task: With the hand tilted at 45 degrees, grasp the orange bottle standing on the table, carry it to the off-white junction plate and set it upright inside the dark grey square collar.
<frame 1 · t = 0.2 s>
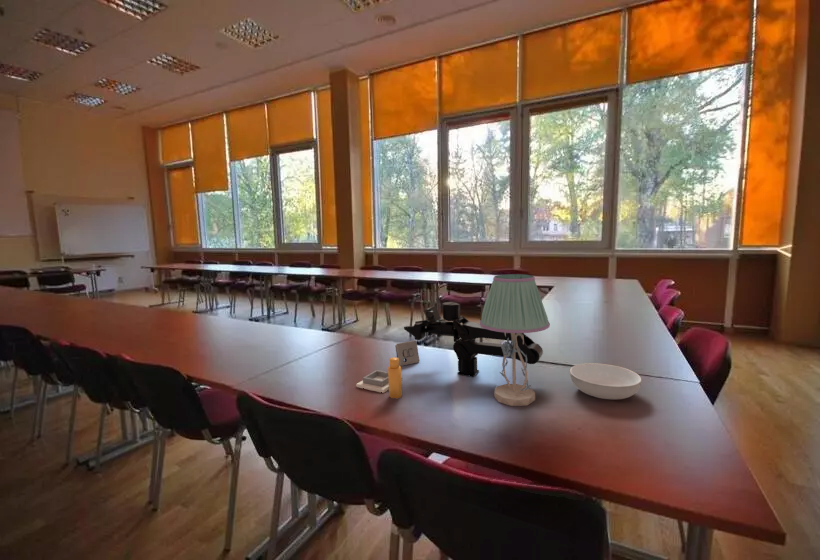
hand: (409, 325, 161), 17 cm above the table, tool horizontal, fingers open, 9 cm apart
serving bowl: (603, 394, 128), on the table
orange bottle: (395, 395, 132), on the table
electrical switch: (406, 363, 165), on the table
junction plate: (379, 383, 143), on the table
table lamp: (514, 398, 127), on the table
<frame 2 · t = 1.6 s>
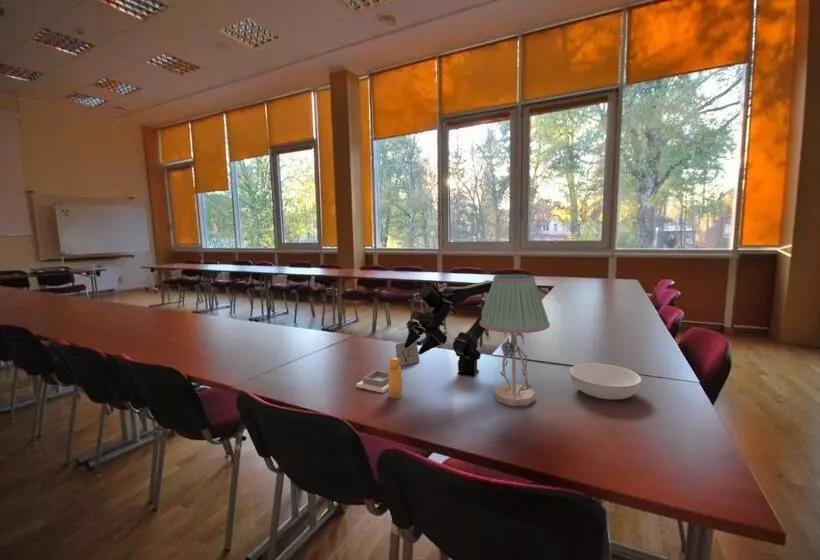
hand: (411, 350, 136), 14 cm above the table, tool tilted 45°, fingers open, 9 cm apart
nothing on the table moved.
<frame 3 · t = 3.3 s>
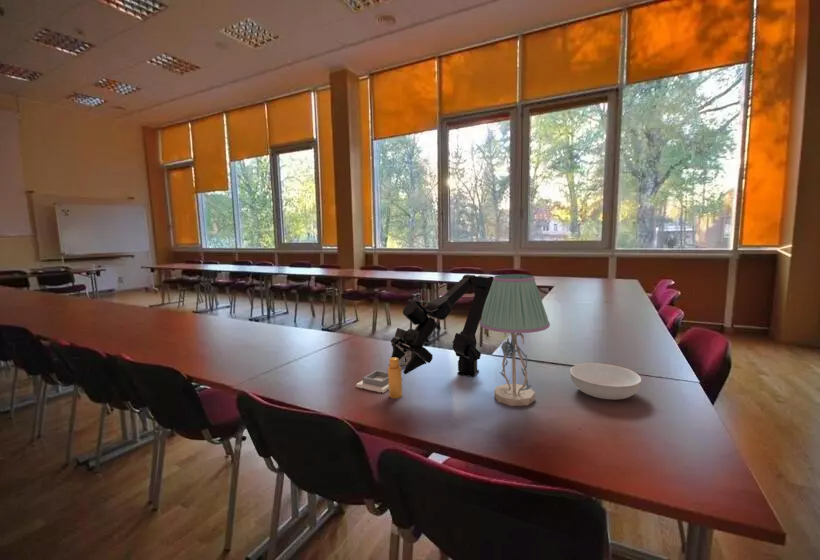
hand: (396, 369, 132), 9 cm above the table, tool tilted 45°, fingers open, 9 cm apart
nothing on the table moved.
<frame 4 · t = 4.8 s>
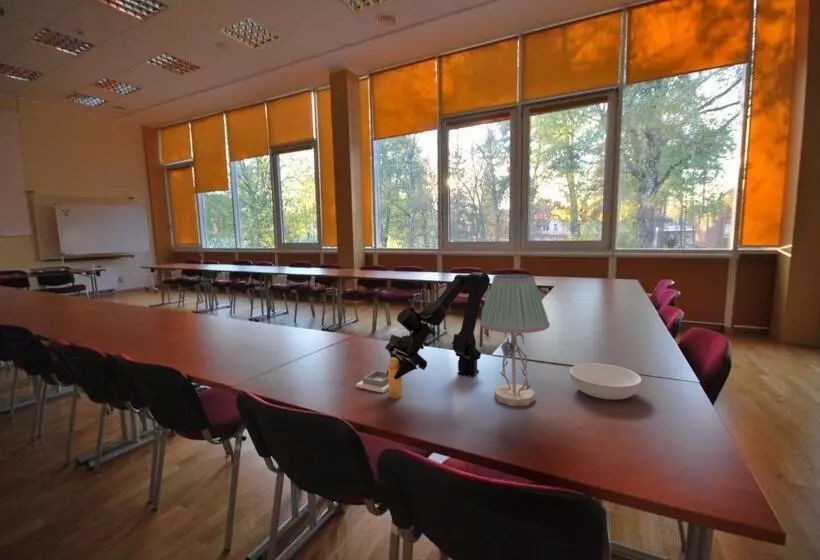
hand: (391, 376, 131), 7 cm above the table, tool tilted 45°, fingers closed on orange bottle, 4 cm apart
orange bottle: (395, 395, 132), on the table, touching gripper
everything else where it was.
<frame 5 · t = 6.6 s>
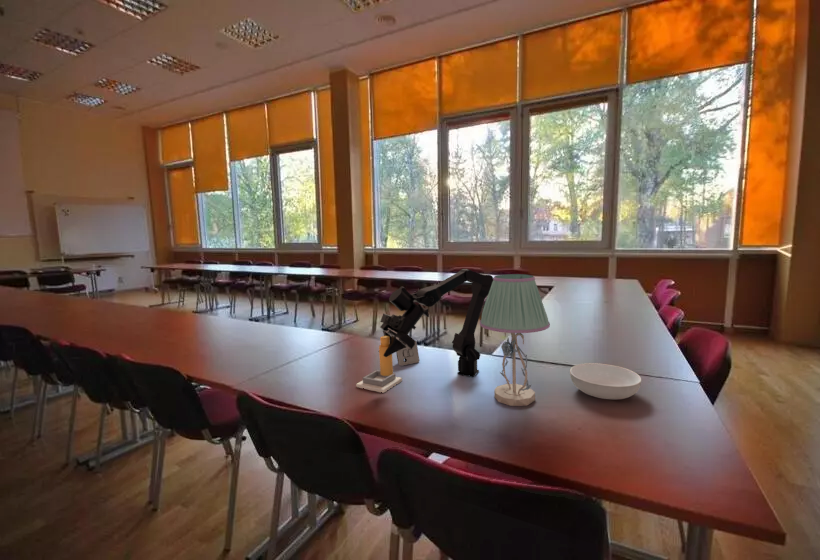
hand: (381, 354, 134), 14 cm above the table, tool tilted 45°, fingers closed on orange bottle, 4 cm apart
orange bottle: (386, 373, 136), point 6 cm above the table, touching gripper
everything else where it was.
when the fingers open (10 cm above the table, at t = 8.4 s): orange bottle drops 1 cm, resting on junction plate.
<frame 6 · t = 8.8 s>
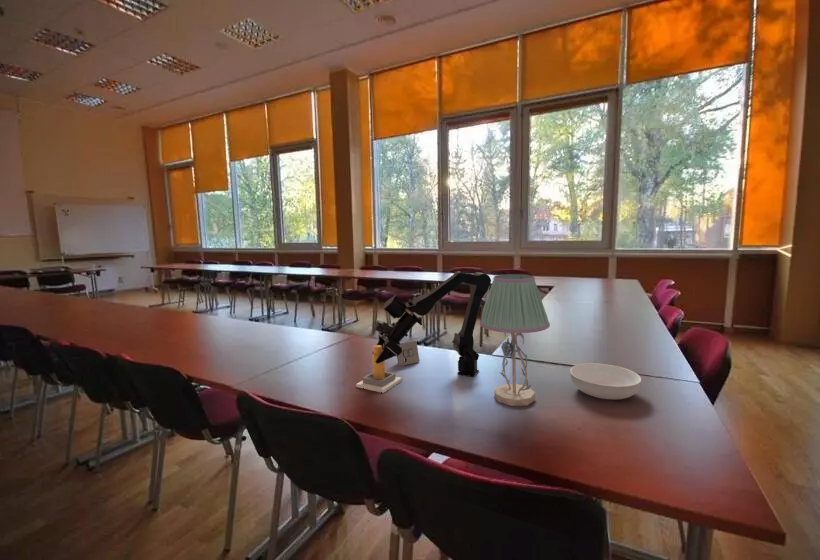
hand: (374, 358, 142), 10 cm above the table, tool tilted 45°, fingers open, 9 cm apart
orange bottle: (379, 380, 143), point 1 cm above the table, touching junction plate
everything else where it was.
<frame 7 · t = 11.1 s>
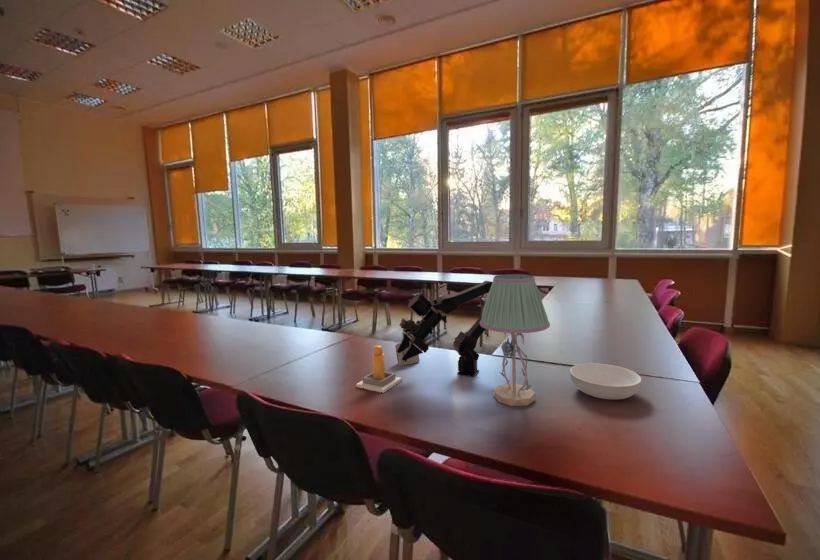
hand: (400, 356, 144), 10 cm above the table, tool tilted 45°, fingers open, 9 cm apart
nothing on the table moved.
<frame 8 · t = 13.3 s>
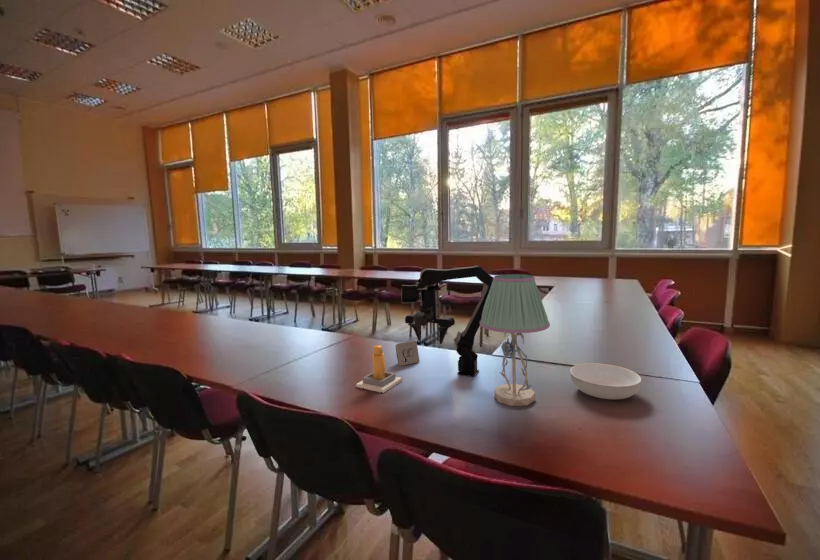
hand: (430, 342, 148), 13 cm above the table, tool pointing down, fingers open, 9 cm apart
nothing on the table moved.
at the end: orange bottle 0.1 cm off-centre on the junction plate, point 1.2 cm above the junction plate's base; orange bottle tilted 0°; the gripper is holding nothing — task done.
